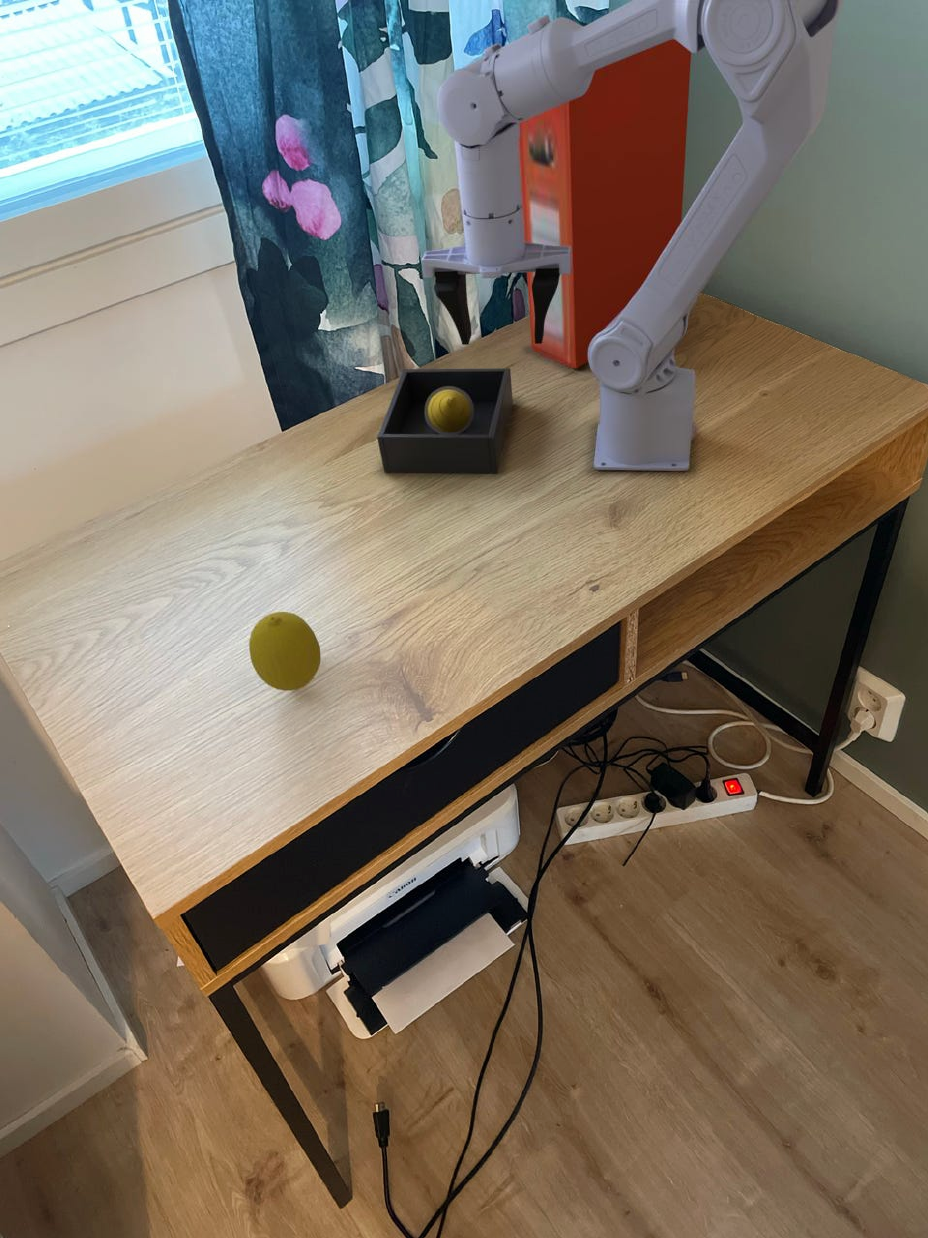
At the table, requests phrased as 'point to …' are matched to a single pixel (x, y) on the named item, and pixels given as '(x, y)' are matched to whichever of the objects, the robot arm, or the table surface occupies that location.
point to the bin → (425, 451)
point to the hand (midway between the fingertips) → (502, 339)
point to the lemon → (284, 651)
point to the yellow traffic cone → (449, 411)
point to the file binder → (606, 190)
